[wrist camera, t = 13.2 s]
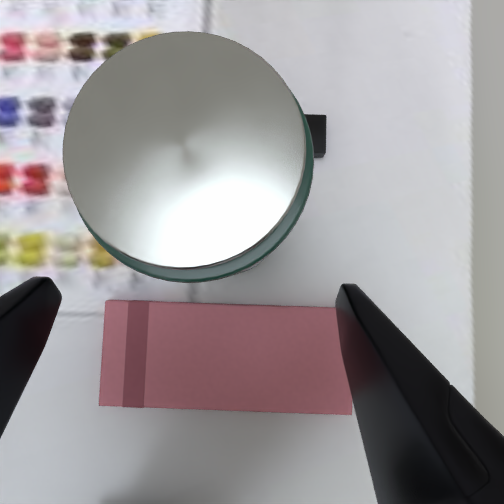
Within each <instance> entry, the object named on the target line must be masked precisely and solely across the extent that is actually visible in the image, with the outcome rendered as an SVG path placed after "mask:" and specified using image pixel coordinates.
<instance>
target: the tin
mask: <svg viewBox="0 0 504 504" xmlns="http://www.w3.org/2000/svg"><path fill="white" fill-rule="evenodd" d="M63 165H64V173H65V177H66V181H67V185H68V189H69V191H70V194H71V196H72V198H73V201H74V203H75V205H76V207H77V209H78V212H79V214H80V216H81V218H82V220H83V221H84V223H85V225H86V227H87V228H88V230H89V231H90V233H91V234H92V235H93V236H94V238H95V239H96V240H97V241H98V243H99V244H100V245H101V246H102V247H103V248H104V249H105V250H106V251H107V252H109V253H110V254H111V255H112V256H113V257H115V258H116V259H117V260H119V261H120V262H122V263H123V264H125V265H126V266H128V267H130V268H132V269H134V270H136V271H137V272H140V273H143V274H145V275H148V276H150V277H153V278H157V279H162V280H166V281H172V282H182V283H195V282H206V281H213V280H218V279H222V278H225V277H228V276H231V275H235V274H238V273H241V272H244V271H247V270H249V269H252V268H253V267H255V266H257V265H258V264H259V263H260V262H261V261H263V260H264V259H265V258H266V257H267V256H268V255H269V254H270V253H271V252H273V251H274V250H275V249H276V248H277V247H278V246H279V244H280V243H281V242H282V241H283V240H284V239H285V238H286V237H287V236H288V234H289V233H290V231H291V230H292V229H293V227H294V226H295V224H296V223H297V221H298V219H299V217H300V215H301V213H302V211H303V209H304V207H305V204H306V201H307V199H308V196H309V192H310V188H311V184H312V179H313V168H314V154H313V144H312V138H311V133H310V129H309V126H308V123H307V120H306V117H305V115H304V113H303V111H302V109H301V107H300V105H299V103H298V101H297V99H296V98H295V96H294V95H293V93H292V92H291V90H290V89H289V88H288V86H287V85H286V83H285V82H284V80H283V79H282V78H281V76H280V75H279V74H278V73H277V72H276V71H275V69H274V68H273V67H272V66H271V65H270V64H268V63H267V62H266V61H265V60H264V59H263V58H262V57H260V56H259V55H257V54H256V53H255V52H253V51H252V50H250V49H249V48H247V47H245V46H243V45H241V44H239V43H237V42H235V41H232V40H230V39H227V38H224V37H221V36H217V35H213V34H208V33H201V32H190V31H188V32H171V33H165V34H159V35H155V36H152V37H148V38H145V39H142V40H140V41H138V42H135V43H133V44H131V45H129V46H127V47H125V48H124V49H122V50H120V51H118V52H117V53H115V54H114V55H113V56H111V57H110V58H109V59H108V60H106V61H105V62H104V63H103V64H102V65H101V66H100V67H99V68H98V69H97V70H96V71H95V72H94V73H93V74H92V75H91V76H90V78H89V79H88V80H87V81H86V83H85V84H84V85H83V87H82V89H81V90H80V92H79V94H78V95H77V97H76V99H75V101H74V103H73V106H72V108H71V110H70V113H69V116H68V120H67V123H66V127H65V132H64V139H63Z"/></svg>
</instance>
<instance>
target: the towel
mask: <svg viewBox="0 0 504 504" xmlns="http://www.w3.org/2000/svg"><path fill="white" fill-rule="evenodd" d="M99 406H122V407H136V408H144V407H149V408H176V409H203V410H229V411H256V412H283V413H309V414H336V415H352V396H351V392H350V388H349V383H348V379H347V375H346V371H345V367H344V363H343V359H342V354H341V348H340V340H339V332H338V324H337V316H336V308H332V307H303V306H274V305H245V304H217V303H188V302H159V301H139V300H132V301H130V300H107V301H105V315H104V331H103V347H102V362H101V378H100V394H99Z"/></svg>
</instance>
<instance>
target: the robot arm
mask: <svg viewBox="0 0 504 504" xmlns="http://www.w3.org/2000/svg"><path fill="white" fill-rule="evenodd" d="M61 300H62V295H61V293H60V291H59V290H58V288H57V287H56V285H55V284H54V282H53V281H52V279H51V278H49V277H33V278H31V279H29V280H27V281H26V282H24V283H22V284H21V285H19V286H17V287H16V288H14V289H12V290H11V291H9V292H7V293H6V294H4V295H2V296H1V297H0V438H1V436H2V434H3V432H4V430H5V428H6V426H7V424H8V422H9V419H10V417H11V415H12V413H13V411H14V409H15V407H16V405H17V403H18V401H19V399H20V397H21V395H22V393H23V391H24V389H25V387H26V384H27V382H28V380H29V378H30V376H31V374H32V372H33V370H34V368H35V366H36V364H37V362H38V360H39V358H40V356H41V354H42V351H43V349H44V347H45V345H46V342H47V340H48V337H49V334H50V331H51V329H52V326H53V323H54V320H55V318H56V315H57V312H58V309H59V306H60V304H61ZM335 308H336V316H337V324H338V332H339V340H340V348H341V354H342V359H343V363H344V367H345V371H346V375H347V379H348V383H349V388H350V392H351V396H352V400H353V404H354V408H355V412H356V416H357V420H358V424H359V428H360V432H361V437H362V441H363V445H364V449H365V453H366V457H367V461H368V465H369V469H370V473H371V477H372V481H373V486H374V490H375V494H376V498H377V502H378V504H504V436H503V435H502V434H501V433H500V432H499V431H498V430H496V429H495V428H494V427H493V426H492V425H491V424H490V423H489V422H488V421H487V420H486V419H485V418H484V417H483V416H482V415H481V414H480V413H479V412H478V411H477V410H476V409H475V408H474V407H473V406H472V405H471V404H470V403H469V402H468V401H467V400H466V399H465V398H464V397H463V396H462V395H461V394H460V393H459V392H458V390H457V389H456V388H455V387H454V386H453V385H450V383H449V381H448V380H447V379H446V378H445V377H444V376H443V375H442V374H441V373H440V372H439V371H438V370H437V369H436V368H435V367H434V365H433V364H432V363H431V362H430V361H429V360H428V359H427V358H426V357H425V356H424V355H423V354H422V353H421V352H420V351H419V350H418V349H417V348H416V347H415V346H414V345H413V343H412V342H411V341H410V340H409V339H408V338H407V337H406V336H405V335H404V334H403V333H402V332H401V331H400V330H399V329H398V328H397V327H396V326H395V325H394V324H393V323H392V321H391V320H390V319H389V318H388V317H387V316H386V315H385V314H384V313H383V312H382V311H381V310H380V309H379V308H378V307H377V306H376V305H375V304H374V303H373V302H372V300H371V299H370V298H369V297H368V296H367V295H366V294H365V293H364V292H363V291H362V290H361V289H360V288H359V287H358V286H357V285H356V284H342V285H341V286H340V289H339V292H338V295H337V298H336V303H335Z"/></svg>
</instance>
